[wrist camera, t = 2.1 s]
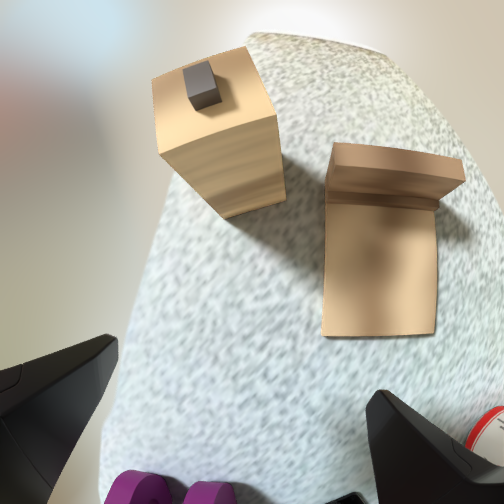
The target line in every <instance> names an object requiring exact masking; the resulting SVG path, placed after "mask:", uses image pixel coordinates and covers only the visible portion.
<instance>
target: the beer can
mask: <svg viewBox="0 0 504 504" xmlns="http://www.w3.org/2000/svg"><path fill="white" fill-rule="evenodd" d="M465 447H466V448H467V449H469V450H471V451H472V452H474V453H476V454H477V455H479V456H481V457H482V458H484V459H486V460H488V461H489V462H491V463H493V464H495V465H498V466H504V406H497V407H495V408H493V409H491V410H489V411H488V412H486V413H485V414H484V415H482V416H481V417H480V418H479V419H478V420H477V421H476V423H475V424H474V426H473V427H472V428H471V430H470V432H469V434H468V437H467V440H466V444H465Z"/></svg>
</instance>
